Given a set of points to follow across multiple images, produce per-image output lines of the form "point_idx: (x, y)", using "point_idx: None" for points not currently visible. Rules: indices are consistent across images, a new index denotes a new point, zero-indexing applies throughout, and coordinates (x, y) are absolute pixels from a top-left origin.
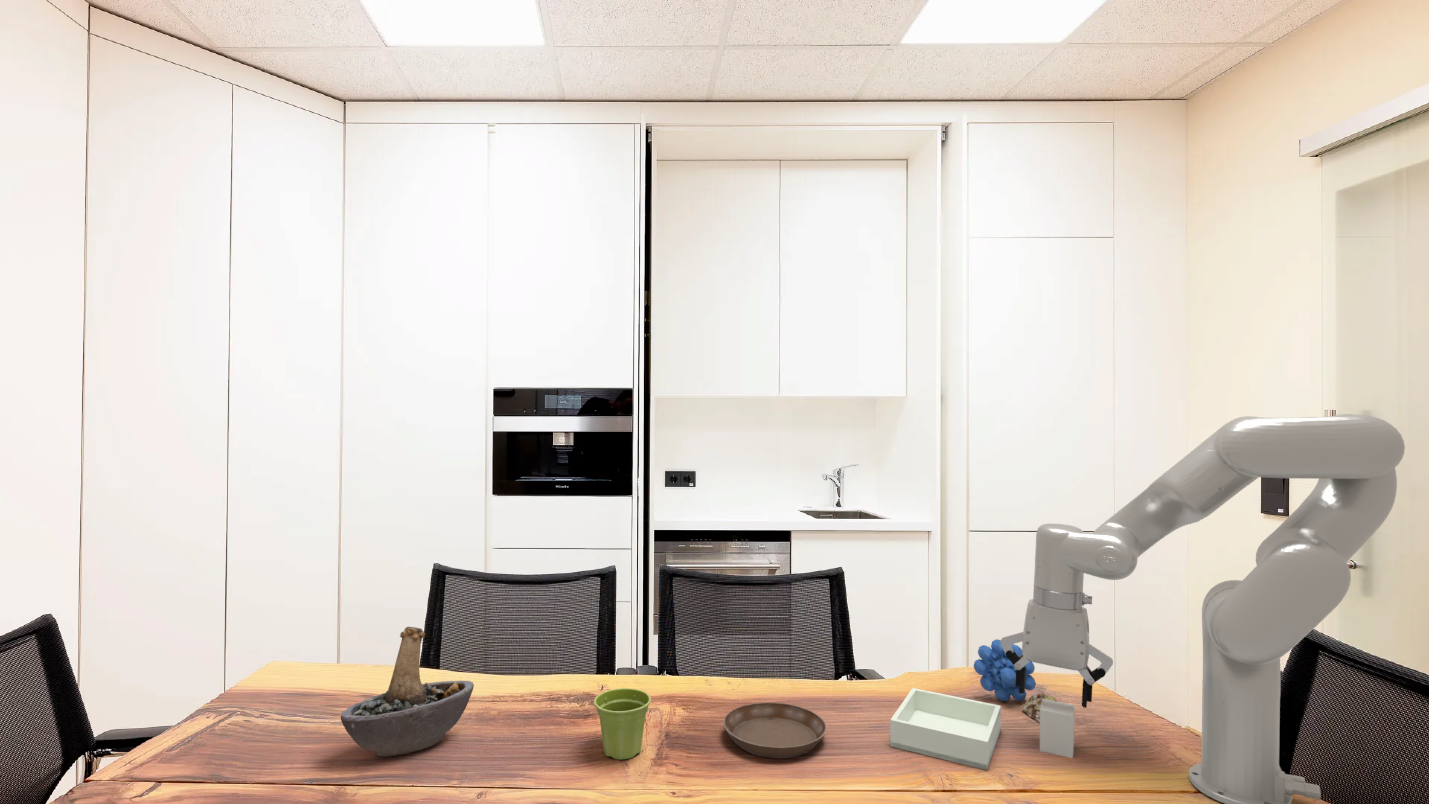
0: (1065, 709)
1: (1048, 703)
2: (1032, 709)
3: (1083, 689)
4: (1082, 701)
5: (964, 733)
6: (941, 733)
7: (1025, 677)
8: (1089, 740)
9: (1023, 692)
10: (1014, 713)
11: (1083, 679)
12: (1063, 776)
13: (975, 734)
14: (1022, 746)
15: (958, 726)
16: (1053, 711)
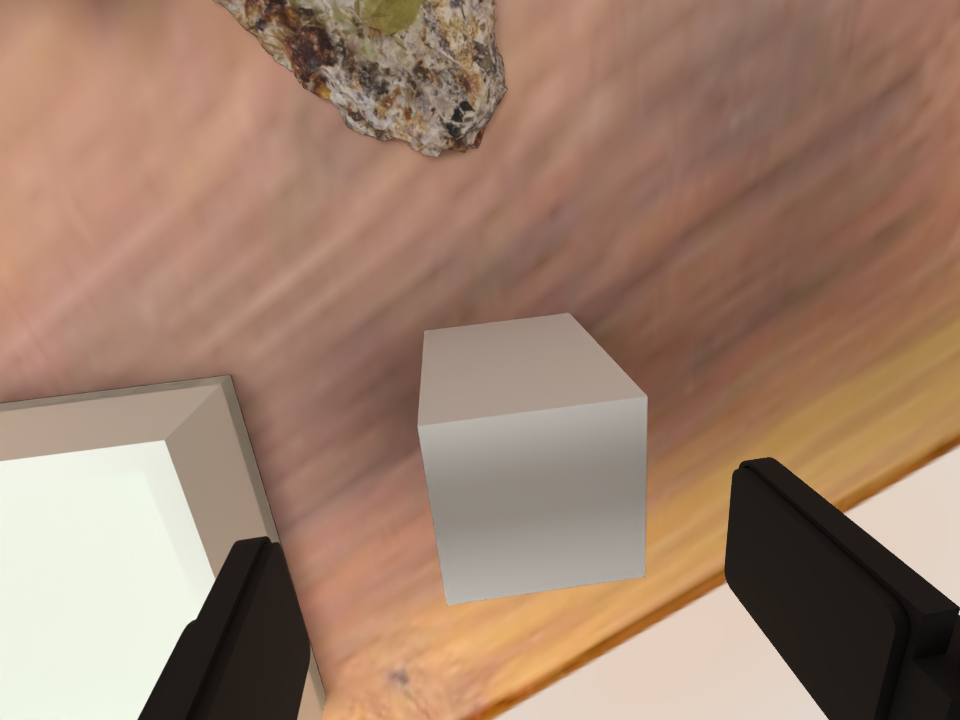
0: (593, 510)
1: (474, 485)
2: (284, 32)
3: (829, 706)
4: (752, 614)
5: (124, 554)
6: None
7: (253, 655)
8: (633, 200)
9: (309, 661)
10: (187, 65)
11: (893, 647)
12: (558, 589)
13: (168, 537)
14: (370, 462)
15: (60, 510)
16: (526, 582)
